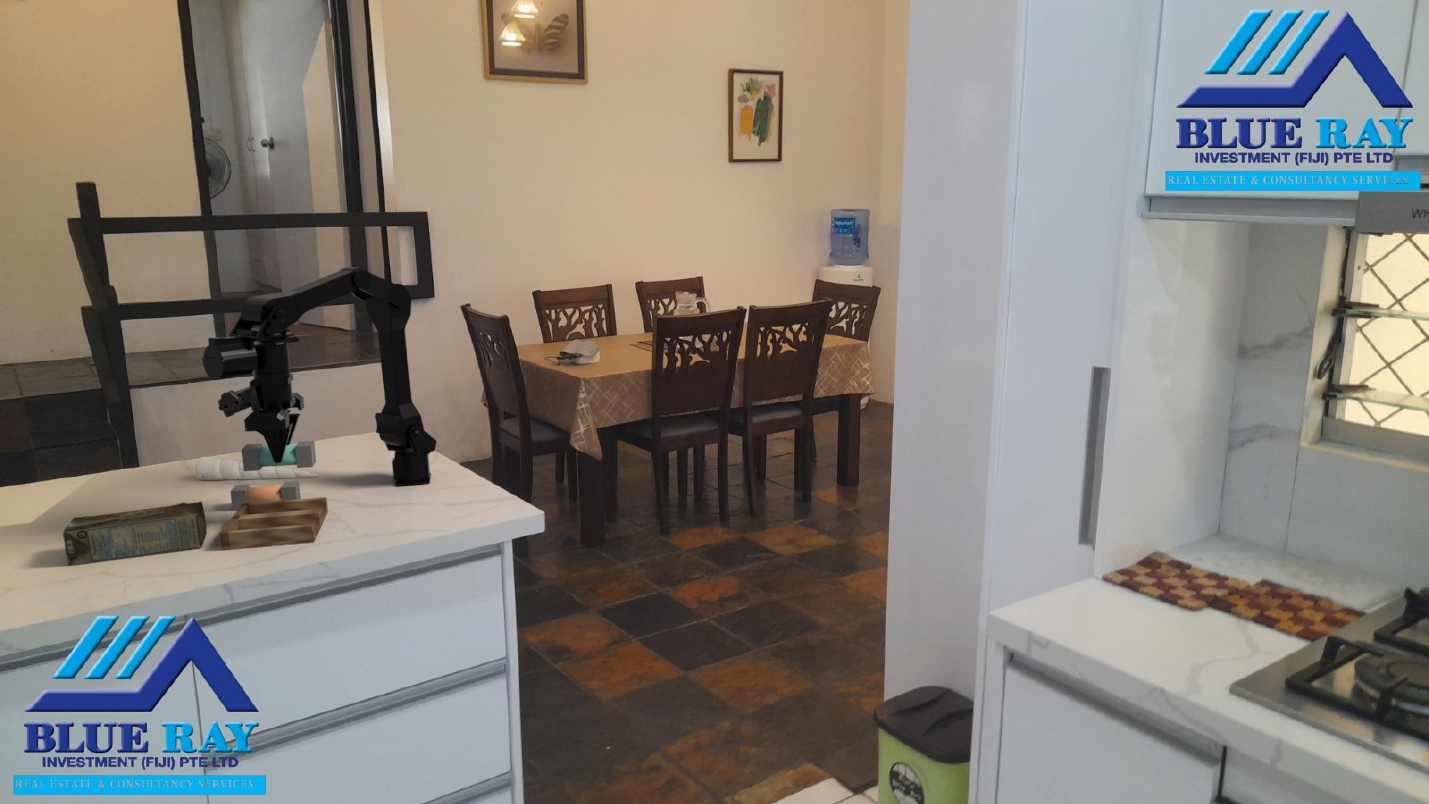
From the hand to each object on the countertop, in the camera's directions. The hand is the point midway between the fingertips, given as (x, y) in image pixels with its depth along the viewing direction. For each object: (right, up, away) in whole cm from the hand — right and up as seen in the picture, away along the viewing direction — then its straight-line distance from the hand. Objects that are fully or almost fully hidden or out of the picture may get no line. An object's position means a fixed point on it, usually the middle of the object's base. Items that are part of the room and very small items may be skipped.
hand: (280, 459), depth 166 cm
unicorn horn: (-18, -6, +29) cm, 35 cm away
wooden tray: (0, -12, -2) cm, 12 cm away
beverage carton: (-18, -14, -10) cm, 25 cm away
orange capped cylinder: (-8, -9, +11) cm, 17 cm away
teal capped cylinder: (0, -1, 0) cm, 1 cm away
